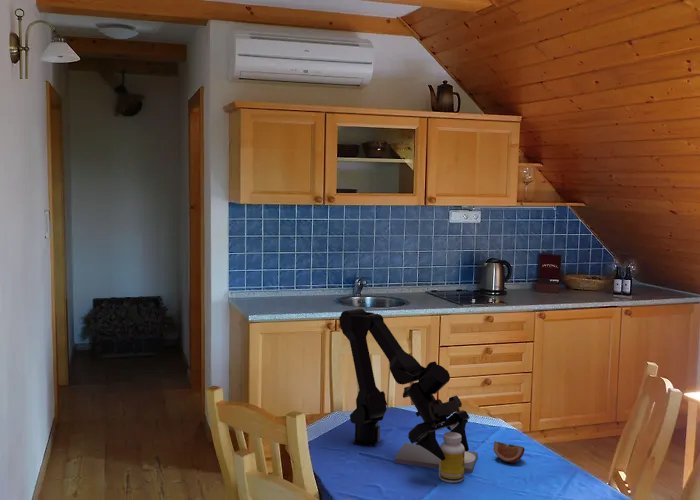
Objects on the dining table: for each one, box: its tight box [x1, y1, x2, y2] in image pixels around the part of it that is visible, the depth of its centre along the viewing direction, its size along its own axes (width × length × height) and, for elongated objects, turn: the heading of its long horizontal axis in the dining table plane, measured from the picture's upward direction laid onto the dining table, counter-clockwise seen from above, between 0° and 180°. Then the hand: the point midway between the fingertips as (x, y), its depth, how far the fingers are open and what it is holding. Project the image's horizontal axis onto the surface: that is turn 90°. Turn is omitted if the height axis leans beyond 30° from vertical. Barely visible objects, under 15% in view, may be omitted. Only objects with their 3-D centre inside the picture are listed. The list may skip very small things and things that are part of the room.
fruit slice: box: [493, 440, 525, 464], centre depth 199 cm, size 8×7×5 cm
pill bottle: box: [438, 431, 465, 484], centre depth 187 cm, size 6×6×12 cm
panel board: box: [393, 442, 479, 474], centre depth 199 cm, size 21×12×1 cm, turn 72°
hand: (456, 455), depth 185 cm, fingers open, 9 cm apart
